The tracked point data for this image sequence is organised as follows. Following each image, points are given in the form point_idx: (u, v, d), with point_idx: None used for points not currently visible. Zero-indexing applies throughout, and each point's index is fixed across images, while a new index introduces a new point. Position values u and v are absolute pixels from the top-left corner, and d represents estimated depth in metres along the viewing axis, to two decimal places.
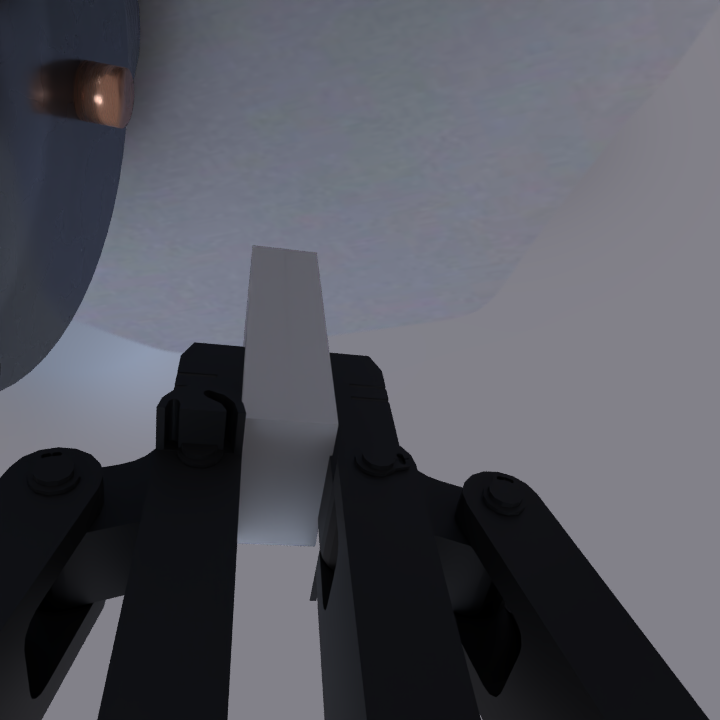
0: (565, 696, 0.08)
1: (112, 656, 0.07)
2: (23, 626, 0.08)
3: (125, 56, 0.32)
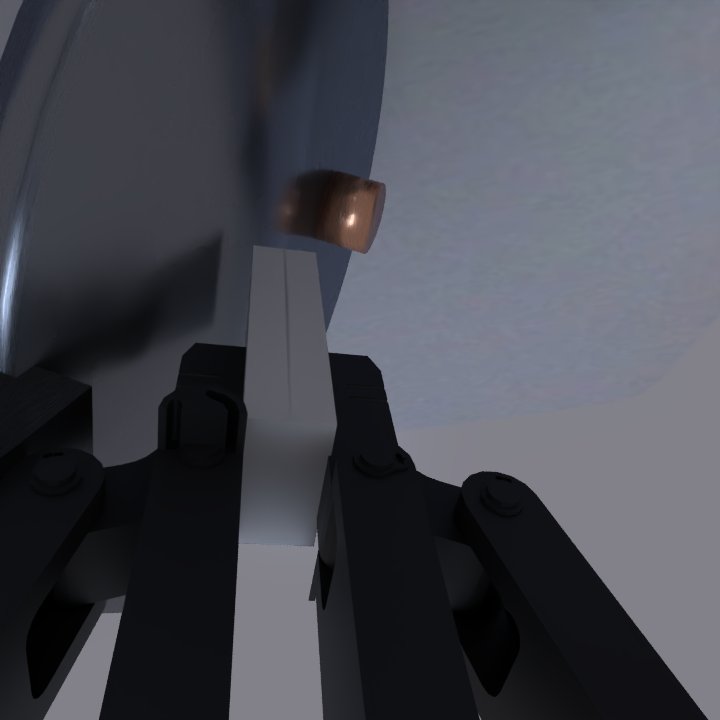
0: (563, 696, 0.08)
1: (113, 656, 0.07)
2: (24, 626, 0.08)
3: (370, 157, 0.27)
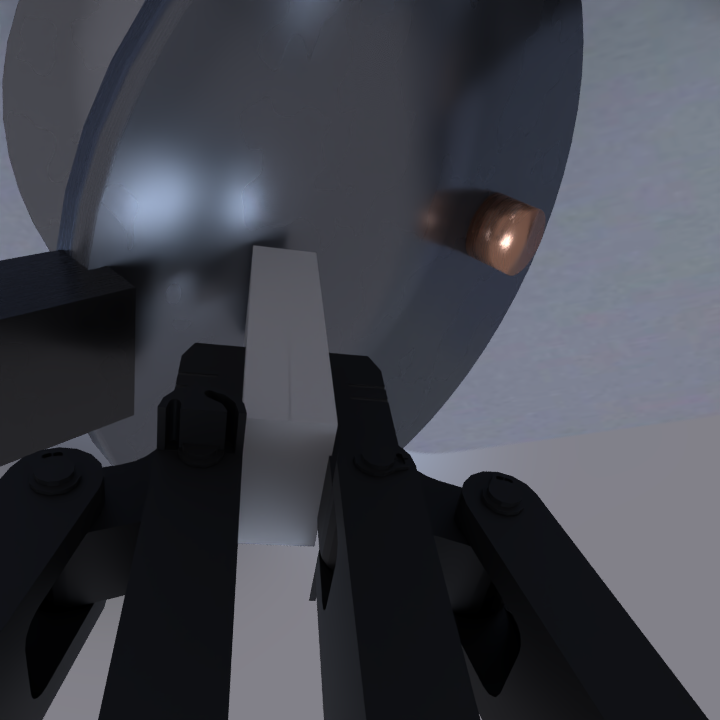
0: (565, 696, 0.08)
1: (113, 656, 0.07)
2: (23, 627, 0.08)
3: (553, 190, 0.27)
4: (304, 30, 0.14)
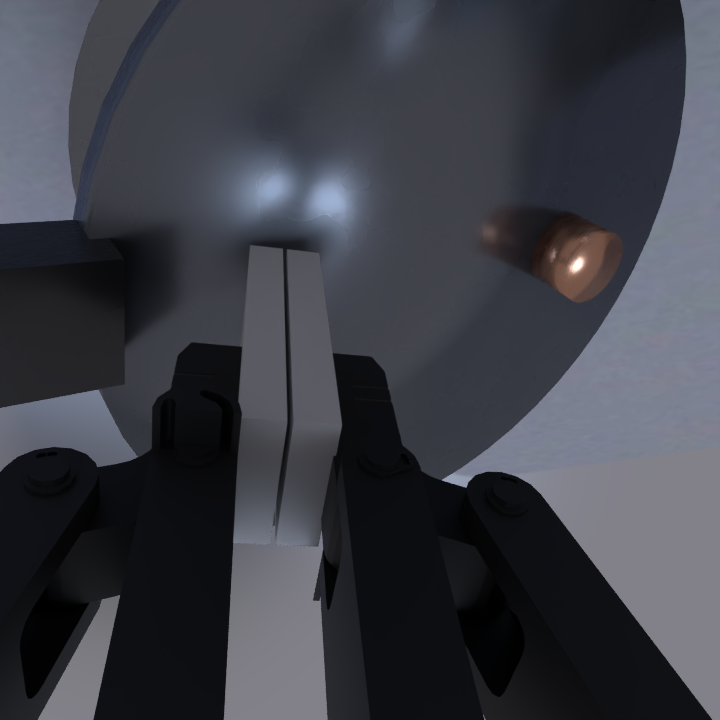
0: (569, 696, 0.08)
1: (108, 656, 0.07)
2: (17, 626, 0.08)
3: (649, 219, 0.25)
4: (327, 24, 0.14)
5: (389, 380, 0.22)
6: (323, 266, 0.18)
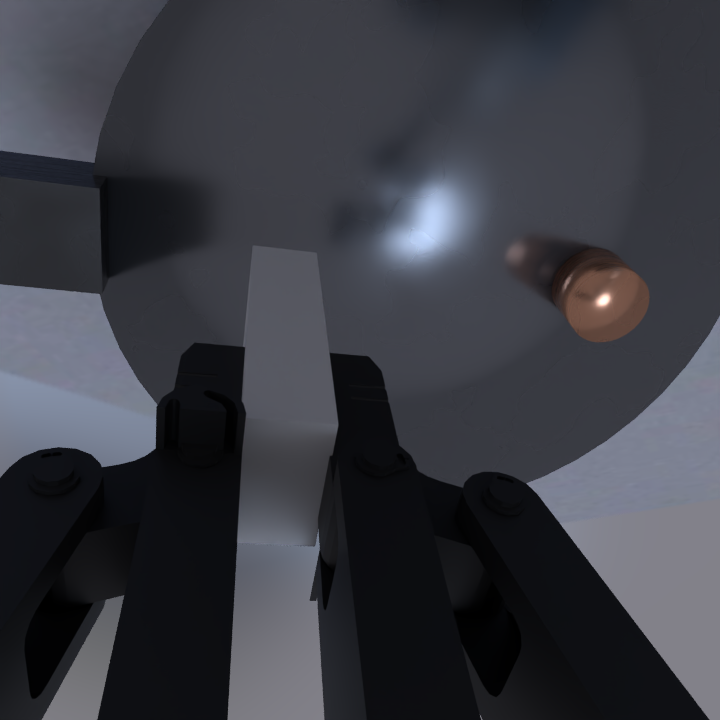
0: (565, 696, 0.08)
1: (112, 656, 0.07)
2: (22, 626, 0.08)
3: None
4: (295, 25, 0.17)
5: None
6: (302, 242, 0.20)
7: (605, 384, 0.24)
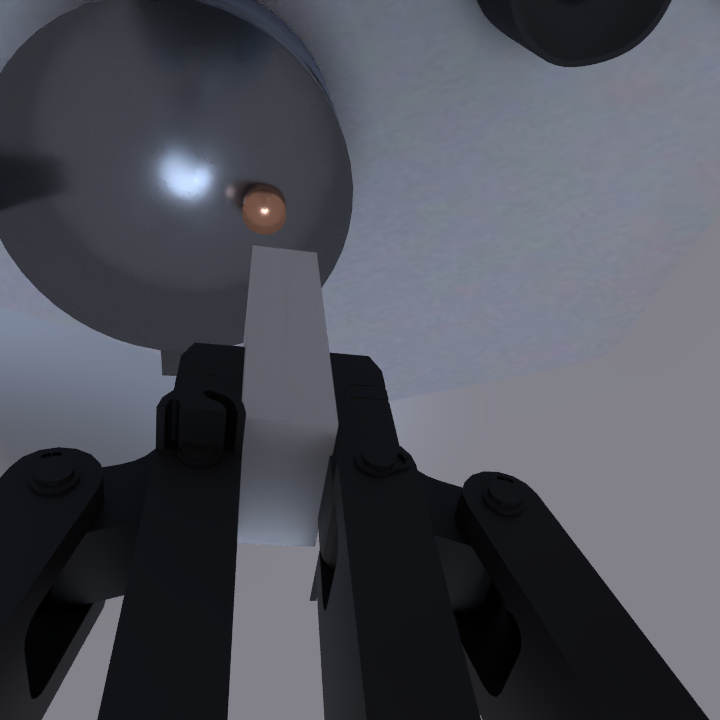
0: (565, 696, 0.08)
1: (112, 656, 0.07)
2: (23, 627, 0.08)
3: (345, 197, 0.39)
4: (66, 76, 0.35)
5: (158, 263, 0.40)
6: (95, 187, 0.38)
7: None
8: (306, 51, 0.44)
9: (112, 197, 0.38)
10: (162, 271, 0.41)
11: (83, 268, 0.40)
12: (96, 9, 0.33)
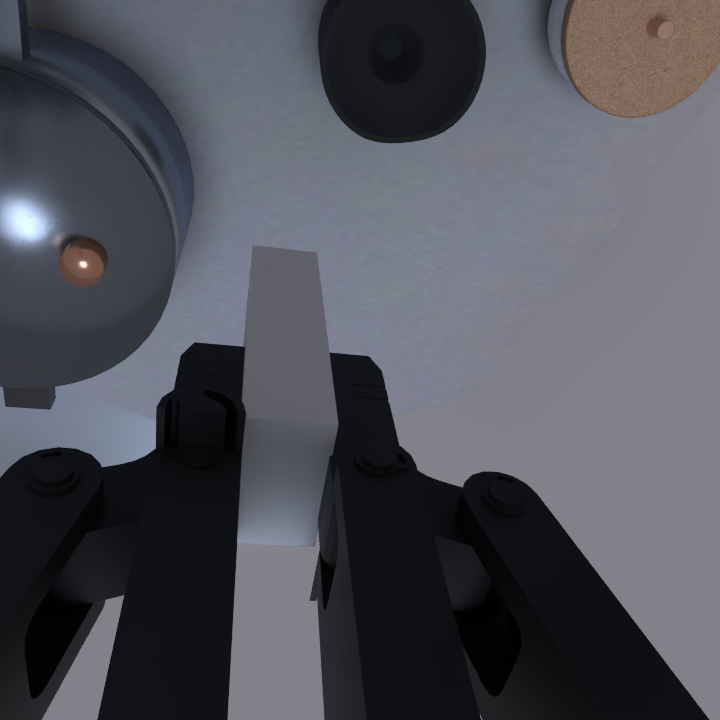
0: (565, 696, 0.08)
1: (112, 656, 0.07)
2: (23, 627, 0.08)
3: (166, 254, 0.41)
4: None
5: None
6: None
7: (122, 313, 0.43)
8: (154, 105, 0.46)
9: None
10: None
11: None
12: None
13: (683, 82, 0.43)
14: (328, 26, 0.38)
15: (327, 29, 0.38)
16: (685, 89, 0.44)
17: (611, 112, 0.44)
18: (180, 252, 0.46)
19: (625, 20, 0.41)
